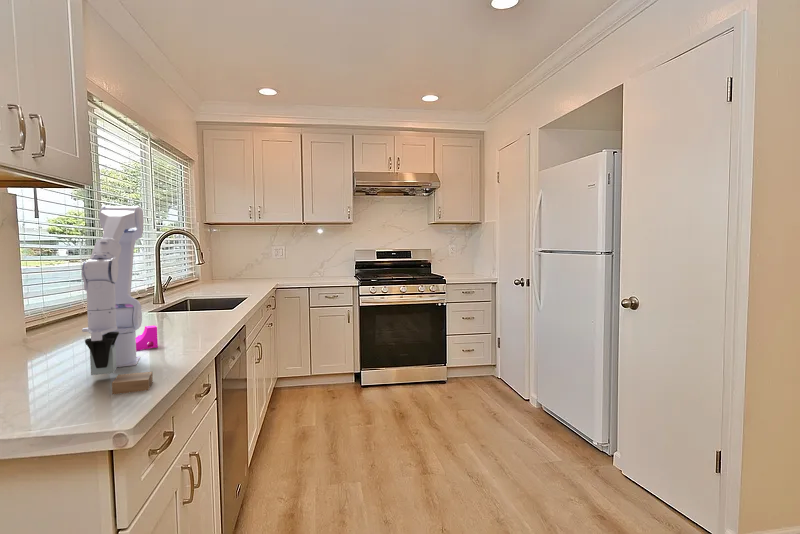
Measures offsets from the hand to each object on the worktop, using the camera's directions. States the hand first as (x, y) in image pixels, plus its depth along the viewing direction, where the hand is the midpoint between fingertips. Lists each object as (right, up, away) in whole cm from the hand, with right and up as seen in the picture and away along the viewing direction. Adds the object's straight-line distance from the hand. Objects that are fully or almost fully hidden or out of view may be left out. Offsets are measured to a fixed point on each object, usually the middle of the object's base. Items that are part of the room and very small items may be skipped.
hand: (103, 365), depth 110 cm
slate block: (0, -2, 0) cm, 2 cm away
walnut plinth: (+11, -4, -6) cm, 13 cm away
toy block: (-12, -3, +31) cm, 33 cm away
